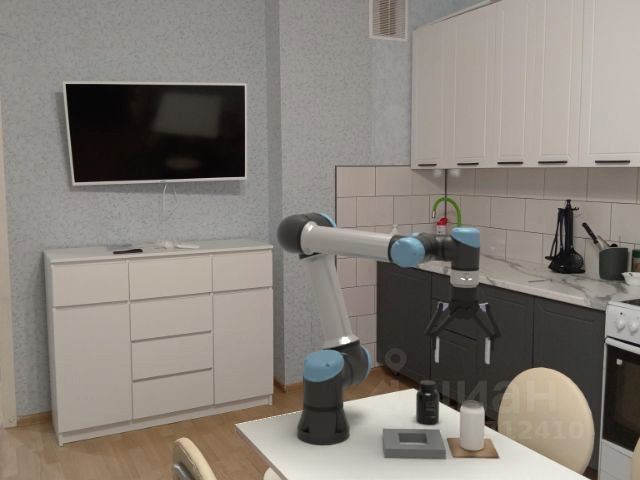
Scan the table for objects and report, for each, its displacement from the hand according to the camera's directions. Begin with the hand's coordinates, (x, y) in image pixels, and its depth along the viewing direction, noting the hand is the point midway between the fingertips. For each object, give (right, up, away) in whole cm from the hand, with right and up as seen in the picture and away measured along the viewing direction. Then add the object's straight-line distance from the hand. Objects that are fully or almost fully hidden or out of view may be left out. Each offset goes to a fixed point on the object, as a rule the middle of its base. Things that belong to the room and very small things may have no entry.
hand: (461, 361), depth 178 cm
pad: (+3, -24, -1) cm, 24 cm away
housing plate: (-13, -24, 0) cm, 27 cm away
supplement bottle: (-6, -22, +20) cm, 30 cm away
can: (+3, -23, -1) cm, 23 cm away
